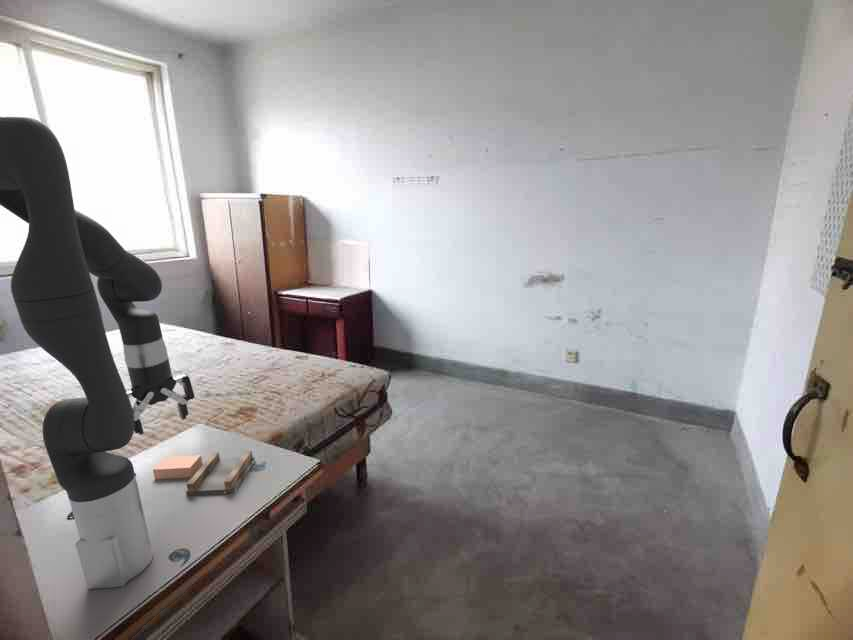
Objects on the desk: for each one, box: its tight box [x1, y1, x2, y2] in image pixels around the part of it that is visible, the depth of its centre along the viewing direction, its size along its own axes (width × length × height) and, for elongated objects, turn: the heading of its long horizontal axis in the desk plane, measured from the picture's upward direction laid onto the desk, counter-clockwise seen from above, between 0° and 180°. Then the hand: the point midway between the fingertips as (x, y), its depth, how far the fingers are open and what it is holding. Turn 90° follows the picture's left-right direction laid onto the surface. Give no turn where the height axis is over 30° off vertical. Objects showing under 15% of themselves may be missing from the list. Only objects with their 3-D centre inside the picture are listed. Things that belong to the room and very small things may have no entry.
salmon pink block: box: [152, 454, 203, 480], centre depth 103 cm, size 9×6×3 cm, turn 93°
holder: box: [185, 450, 256, 496], centre depth 100 cm, size 13×11×3 cm
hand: (162, 425), depth 92 cm, fingers open, 8 cm apart
